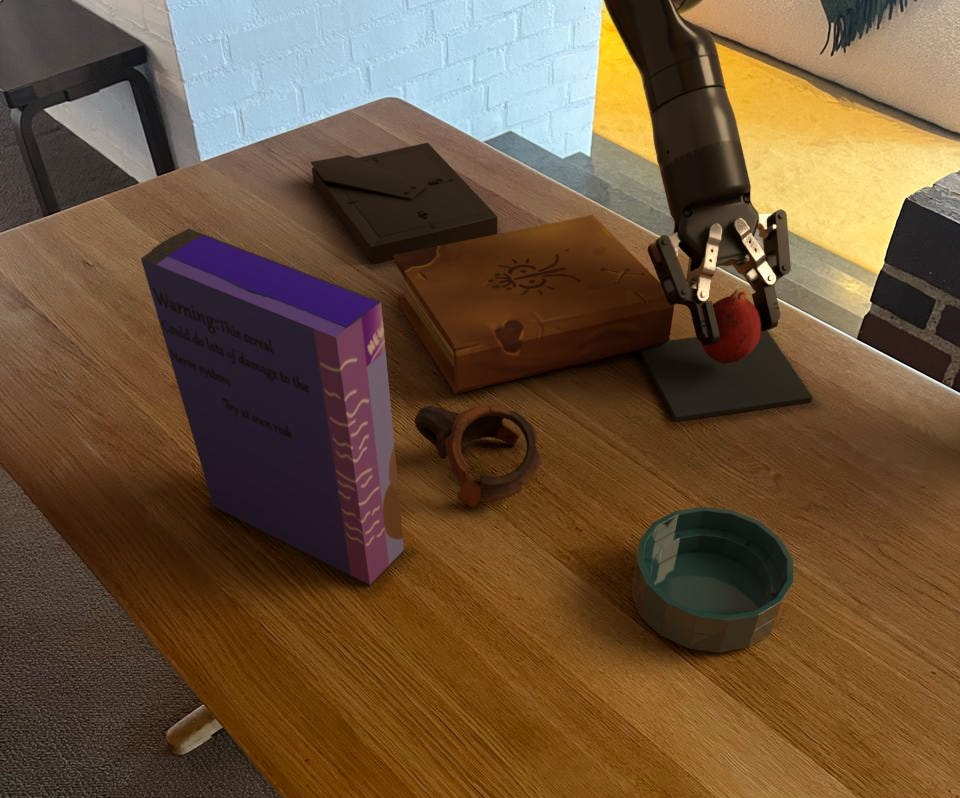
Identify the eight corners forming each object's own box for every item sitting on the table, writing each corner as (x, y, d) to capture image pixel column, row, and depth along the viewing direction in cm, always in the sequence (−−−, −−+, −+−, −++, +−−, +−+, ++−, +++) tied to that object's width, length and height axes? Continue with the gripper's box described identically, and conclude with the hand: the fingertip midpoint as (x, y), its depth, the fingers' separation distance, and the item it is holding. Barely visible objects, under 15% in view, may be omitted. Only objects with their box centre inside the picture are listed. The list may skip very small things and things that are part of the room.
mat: (764, 332, 104) (765, 327, 104) (811, 402, 97) (813, 397, 96) (636, 349, 102) (637, 344, 102) (674, 421, 95) (675, 416, 95)
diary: (458, 400, 96) (455, 348, 92) (397, 305, 108) (393, 255, 103) (668, 347, 101) (675, 296, 97) (589, 262, 113) (592, 212, 109)
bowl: (747, 536, 85) (758, 497, 82) (804, 642, 78) (819, 604, 74) (613, 557, 84) (618, 519, 80) (658, 668, 76) (666, 631, 73)
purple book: (404, 551, 84) (380, 299, 66) (370, 586, 82) (335, 334, 63) (249, 476, 90) (187, 225, 72) (213, 507, 88) (139, 255, 69)
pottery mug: (547, 447, 93) (561, 415, 85) (510, 537, 92) (521, 513, 84) (430, 398, 93) (432, 361, 85) (390, 487, 92) (389, 458, 84)
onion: (738, 387, 96) (756, 315, 90) (684, 368, 98) (697, 296, 92) (761, 356, 99) (779, 284, 93) (707, 339, 101) (722, 267, 95)
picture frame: (313, 184, 125) (372, 264, 113) (310, 161, 123) (370, 240, 111) (428, 158, 129) (497, 233, 117) (427, 136, 127) (497, 210, 115)
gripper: (648, 152, 87) (693, 344, 89) (788, 124, 90) (828, 310, 92) (614, 184, 94) (657, 361, 96) (745, 157, 97) (783, 328, 100)
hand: (741, 335), depth 94 cm, fingers closed on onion, 5 cm apart
